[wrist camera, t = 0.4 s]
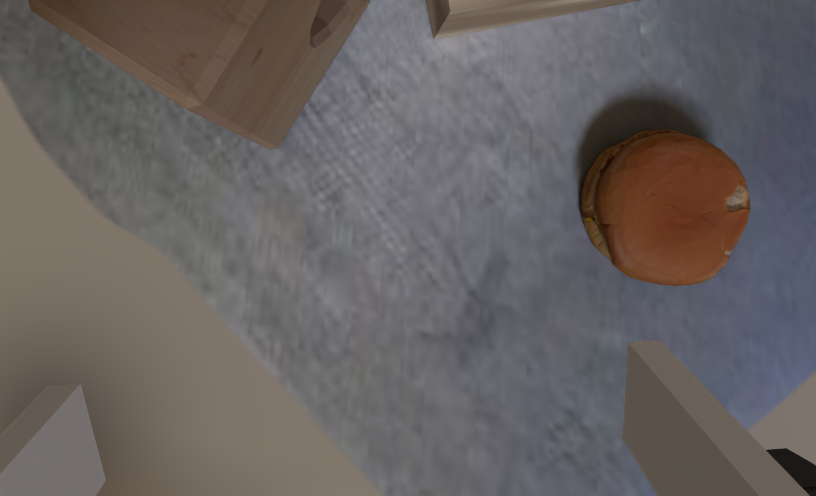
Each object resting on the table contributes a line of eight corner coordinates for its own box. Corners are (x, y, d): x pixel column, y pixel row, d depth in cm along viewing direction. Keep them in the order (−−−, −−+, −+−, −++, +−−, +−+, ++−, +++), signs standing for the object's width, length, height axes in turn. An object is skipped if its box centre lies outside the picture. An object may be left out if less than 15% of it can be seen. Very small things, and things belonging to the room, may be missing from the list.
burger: (553, 179, 39) (581, 178, 34) (675, 106, 39) (719, 96, 35) (621, 308, 40) (657, 324, 36) (739, 237, 41) (789, 243, 36)
